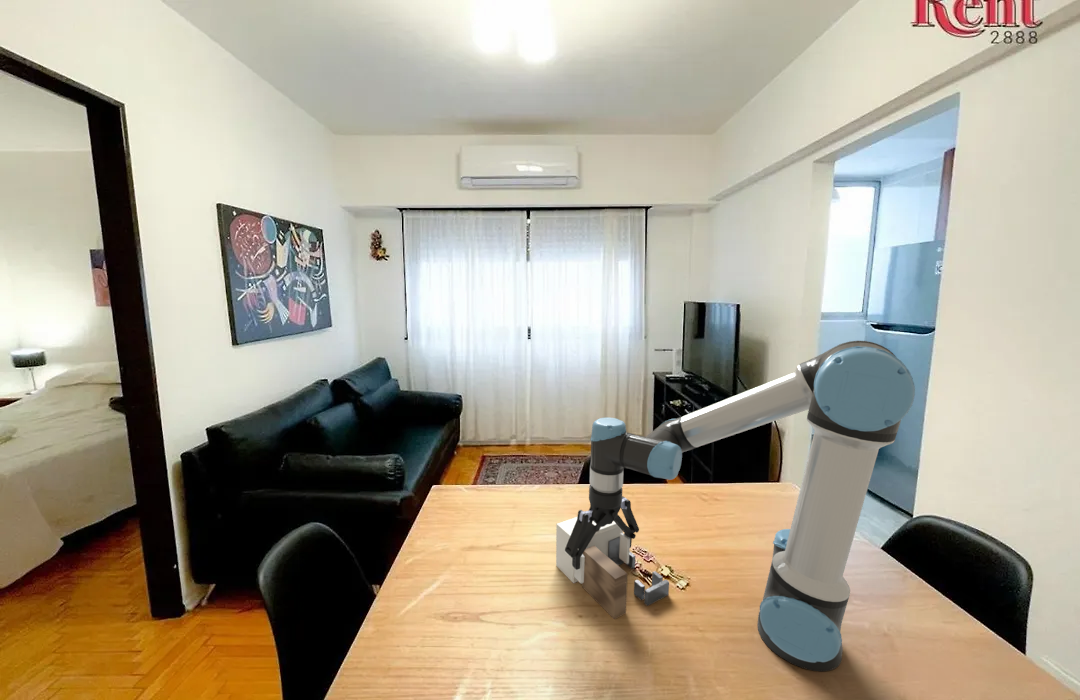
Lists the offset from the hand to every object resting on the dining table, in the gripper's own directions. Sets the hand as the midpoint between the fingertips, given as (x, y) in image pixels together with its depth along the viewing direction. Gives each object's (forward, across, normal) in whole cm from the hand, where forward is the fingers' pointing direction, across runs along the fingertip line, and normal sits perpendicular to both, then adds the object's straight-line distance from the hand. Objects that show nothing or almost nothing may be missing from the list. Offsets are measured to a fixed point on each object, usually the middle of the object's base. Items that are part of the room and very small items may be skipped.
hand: (602, 569), depth 98 cm
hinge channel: (+7, -11, 0) cm, 13 cm away
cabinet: (+8, -5, -12) cm, 15 cm away
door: (+8, 0, 0) cm, 8 cm away
